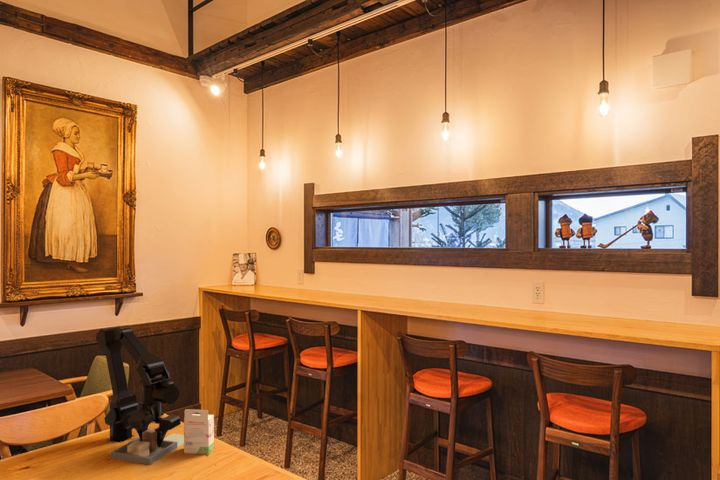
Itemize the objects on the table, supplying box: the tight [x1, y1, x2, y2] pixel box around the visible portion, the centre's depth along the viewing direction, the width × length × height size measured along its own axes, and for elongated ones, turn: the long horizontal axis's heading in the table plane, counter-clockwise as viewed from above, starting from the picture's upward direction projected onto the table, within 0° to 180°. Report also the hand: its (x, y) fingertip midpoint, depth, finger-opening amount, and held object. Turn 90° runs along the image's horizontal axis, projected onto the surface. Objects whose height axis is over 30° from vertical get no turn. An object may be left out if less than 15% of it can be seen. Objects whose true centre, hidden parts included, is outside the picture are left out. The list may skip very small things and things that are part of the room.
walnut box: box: [142, 427, 161, 452], centre depth 161 cm, size 4×4×6 cm
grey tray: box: [110, 436, 178, 466], centre depth 158 cm, size 15×13×2 cm
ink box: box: [183, 408, 215, 456], centre depth 160 cm, size 9×5×15 cm, turn 84°
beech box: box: [127, 441, 149, 457], centre depth 155 cm, size 4×4×4 cm
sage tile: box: [164, 433, 184, 448], centre depth 168 cm, size 9×9×1 cm
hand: (151, 445), depth 161 cm, fingers open, 6 cm apart
